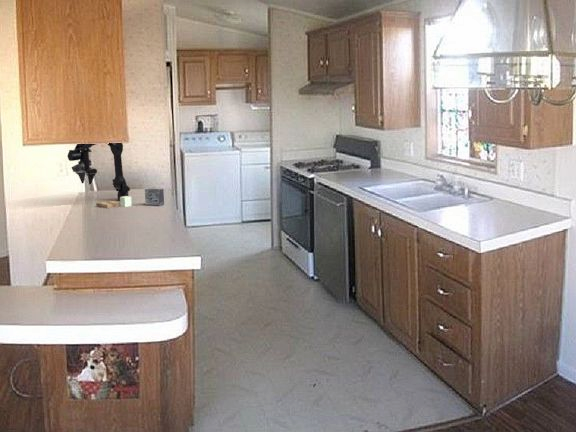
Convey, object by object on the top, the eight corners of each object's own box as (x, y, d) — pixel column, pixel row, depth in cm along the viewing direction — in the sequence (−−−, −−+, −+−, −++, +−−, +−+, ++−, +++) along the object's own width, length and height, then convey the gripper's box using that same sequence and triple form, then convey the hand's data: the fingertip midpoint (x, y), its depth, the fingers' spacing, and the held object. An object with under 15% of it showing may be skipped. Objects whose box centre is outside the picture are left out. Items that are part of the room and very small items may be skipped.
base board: (112, 203, 444) (112, 200, 444) (123, 205, 436) (123, 202, 436) (96, 206, 435) (96, 203, 435) (107, 208, 427) (107, 204, 427)
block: (127, 205, 438) (126, 196, 437) (131, 205, 434) (131, 196, 433) (120, 206, 434) (119, 197, 433) (125, 207, 431) (124, 197, 430)
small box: (164, 204, 437) (164, 188, 435) (159, 206, 431) (158, 190, 429) (150, 204, 440) (149, 188, 438) (145, 205, 434) (144, 189, 432)
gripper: (65, 159, 432) (67, 184, 434) (80, 161, 419) (82, 186, 422) (81, 158, 439) (83, 182, 442) (96, 159, 427) (98, 184, 430)
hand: (86, 183), depth 434 cm, fingers open, 9 cm apart
